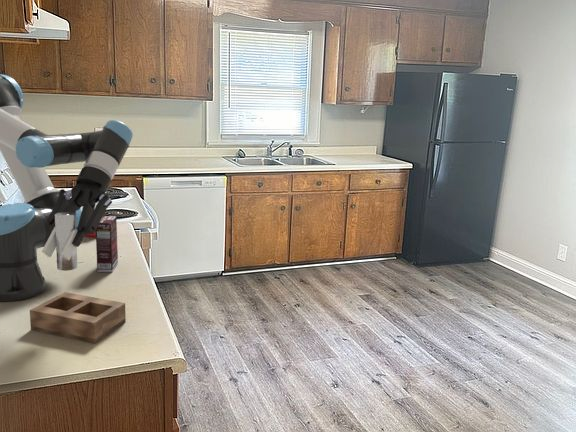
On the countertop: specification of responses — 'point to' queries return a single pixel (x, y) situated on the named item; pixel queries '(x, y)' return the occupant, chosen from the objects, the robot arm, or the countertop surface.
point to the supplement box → (107, 244)
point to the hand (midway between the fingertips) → (55, 255)
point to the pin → (65, 239)
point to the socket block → (78, 317)
